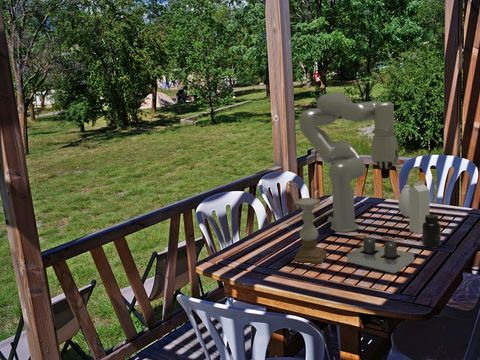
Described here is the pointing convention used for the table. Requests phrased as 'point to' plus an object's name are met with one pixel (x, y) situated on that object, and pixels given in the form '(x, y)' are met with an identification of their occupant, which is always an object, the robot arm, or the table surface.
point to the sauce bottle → (404, 201)
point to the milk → (418, 207)
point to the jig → (379, 257)
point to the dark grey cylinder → (390, 250)
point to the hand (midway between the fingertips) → (385, 177)
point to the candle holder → (309, 234)
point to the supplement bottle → (431, 231)
